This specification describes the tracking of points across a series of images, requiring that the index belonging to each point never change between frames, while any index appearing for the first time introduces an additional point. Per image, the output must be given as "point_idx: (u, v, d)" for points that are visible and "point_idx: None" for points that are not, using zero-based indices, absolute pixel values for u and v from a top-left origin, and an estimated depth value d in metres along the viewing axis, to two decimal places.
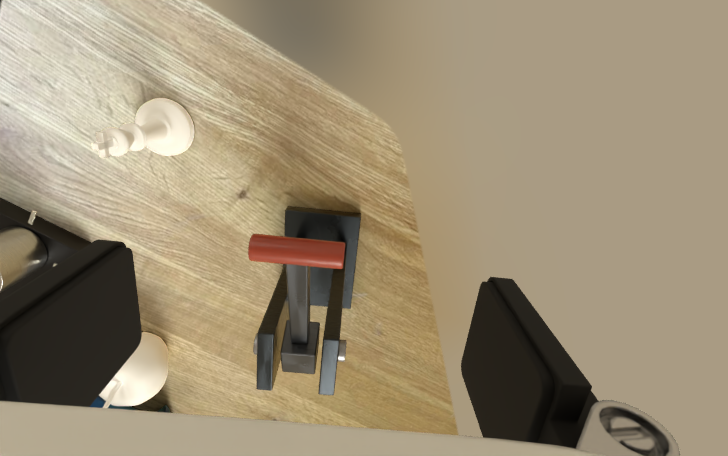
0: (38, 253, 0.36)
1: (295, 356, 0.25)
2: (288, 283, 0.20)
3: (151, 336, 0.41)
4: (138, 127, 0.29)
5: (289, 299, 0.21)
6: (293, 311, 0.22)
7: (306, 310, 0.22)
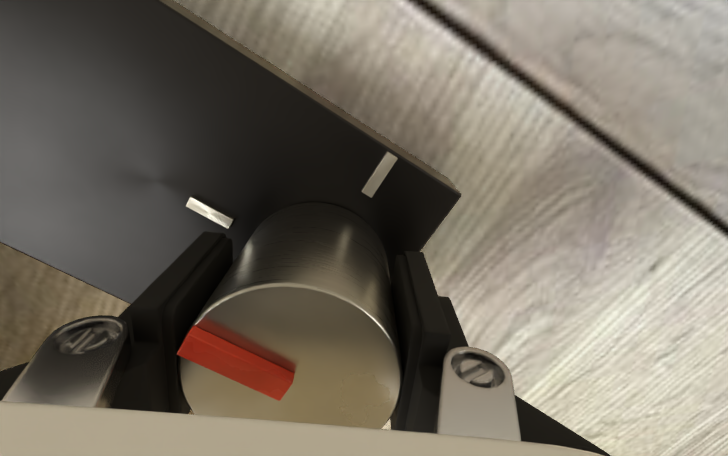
0: None
1: None
2: None
3: None
4: None
5: None
6: None
7: None
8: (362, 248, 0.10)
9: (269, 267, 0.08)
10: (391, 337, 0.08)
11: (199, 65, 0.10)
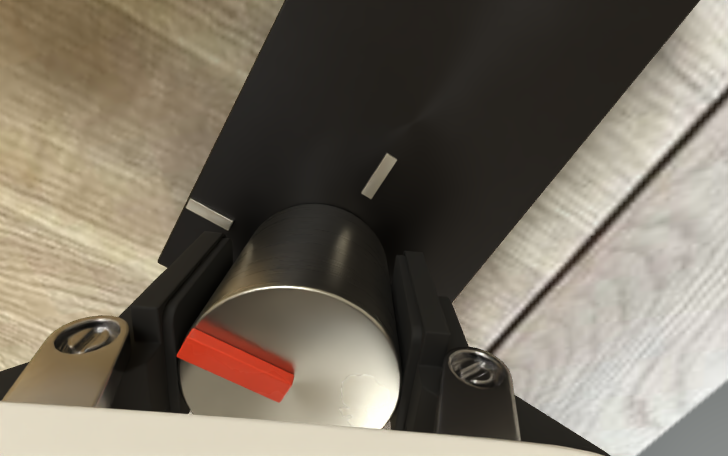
0: None
1: None
2: None
3: None
4: None
5: None
6: None
7: None
8: (362, 250, 0.10)
9: (268, 269, 0.08)
10: (390, 338, 0.08)
11: (515, 184, 0.12)
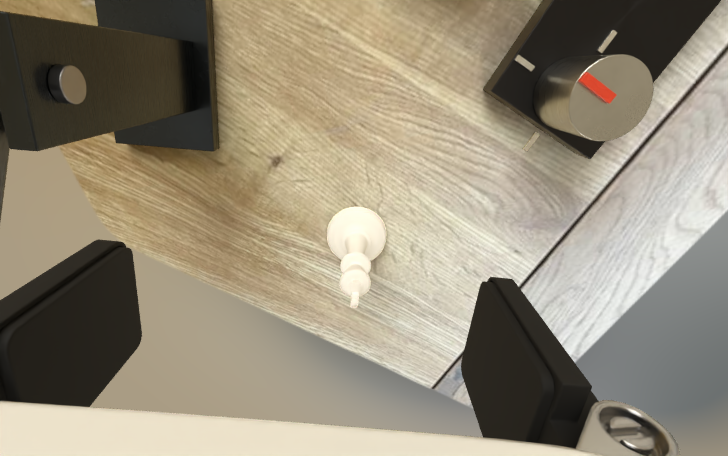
0: None
1: None
2: None
3: None
4: None
5: None
6: None
7: None
8: None
9: (605, 55, 0.22)
10: (651, 79, 0.21)
11: (669, 44, 0.25)
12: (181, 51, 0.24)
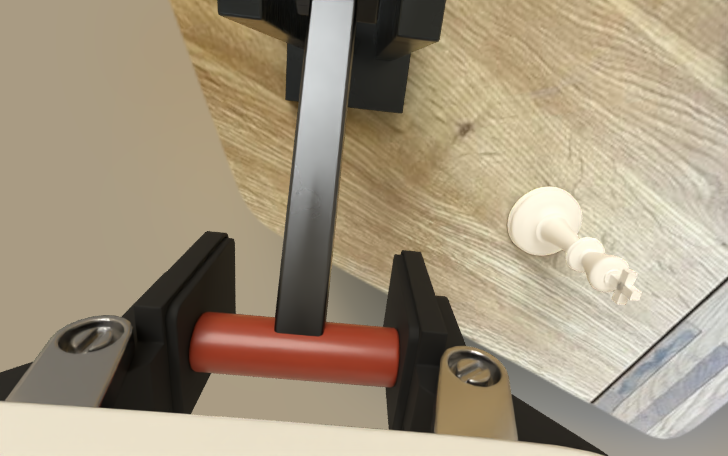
0: None
1: None
2: (326, 262, 0.09)
3: None
4: (571, 267, 0.22)
5: (333, 195, 0.09)
6: (329, 143, 0.09)
7: (296, 148, 0.09)
8: None
9: None
10: None
11: None
12: None
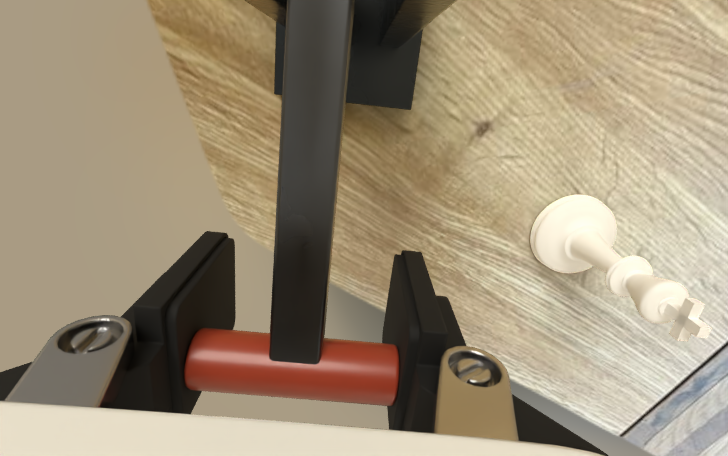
0: None
1: None
2: (321, 294, 0.08)
3: None
4: (612, 290, 0.19)
5: (328, 222, 0.07)
6: (322, 160, 0.07)
7: (282, 165, 0.07)
8: None
9: None
10: None
11: None
12: None
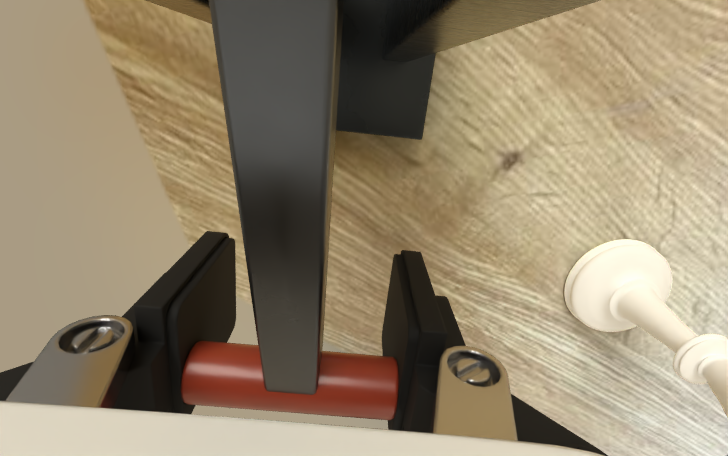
0: None
1: None
2: (313, 354, 0.07)
3: None
4: (682, 376, 0.15)
5: (315, 303, 0.06)
6: (302, 250, 0.05)
7: (249, 253, 0.05)
8: None
9: None
10: None
11: None
12: None
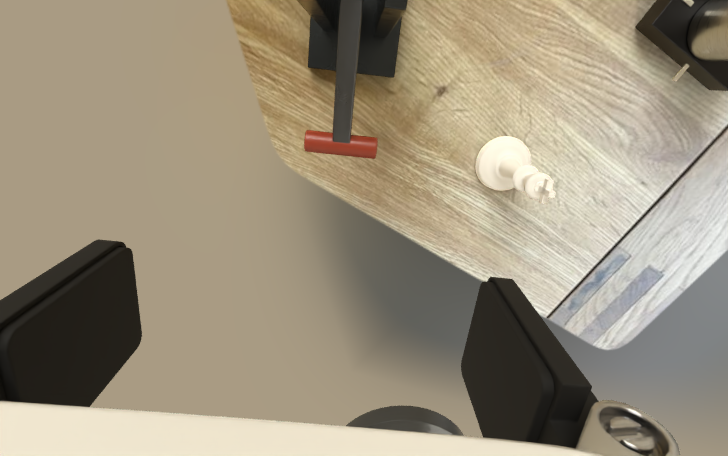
0: (718, 60, 0.30)
1: None
2: (350, 119, 0.23)
3: None
4: (516, 187, 0.31)
5: (352, 95, 0.22)
6: (350, 74, 0.21)
7: (337, 76, 0.21)
8: None
9: None
10: None
11: None
12: None
